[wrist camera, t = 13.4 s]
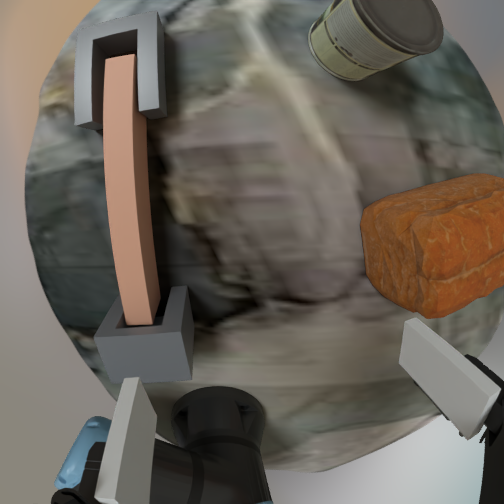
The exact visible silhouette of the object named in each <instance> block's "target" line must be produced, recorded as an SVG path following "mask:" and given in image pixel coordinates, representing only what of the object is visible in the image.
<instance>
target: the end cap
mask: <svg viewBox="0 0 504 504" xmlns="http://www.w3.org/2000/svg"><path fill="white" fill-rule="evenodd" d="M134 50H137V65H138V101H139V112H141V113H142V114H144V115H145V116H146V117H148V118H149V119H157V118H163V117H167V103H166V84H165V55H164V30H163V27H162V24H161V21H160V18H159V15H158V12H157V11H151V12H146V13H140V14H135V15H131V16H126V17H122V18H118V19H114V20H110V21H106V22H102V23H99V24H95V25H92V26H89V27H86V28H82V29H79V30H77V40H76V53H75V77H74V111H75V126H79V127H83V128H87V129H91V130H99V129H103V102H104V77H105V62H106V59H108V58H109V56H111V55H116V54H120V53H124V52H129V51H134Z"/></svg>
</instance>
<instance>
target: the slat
mask: <svg viewBox="0 0 504 504" xmlns="http://www.w3.org/2000/svg"><path fill="white" fill-rule="evenodd" d="M103 141H104V167H105V183H106V196H107V207H108V216H109V225H110V233H111V241H112V248H113V255H114V261H115V267H116V273H117V279H118V285H119V290H120V295H121V300H122V305H123V310H124V314H125V319H126V323H127V325H151V324H153V322H154V319H155V315H156V312H157V309H158V305H159V302H160V299H161V296H160V289H159V282H158V275H157V267H156V259H155V250H154V241H153V231H152V221H151V209H150V196H149V181H148V161H147V127H146V116H145V115H144V114H142V113H141V112H139V101H138V65H137V57H136V56H135V54H130V55H124V56H119V57H114V58H108V59H106V62H105V77H104V102H103Z"/></svg>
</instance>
